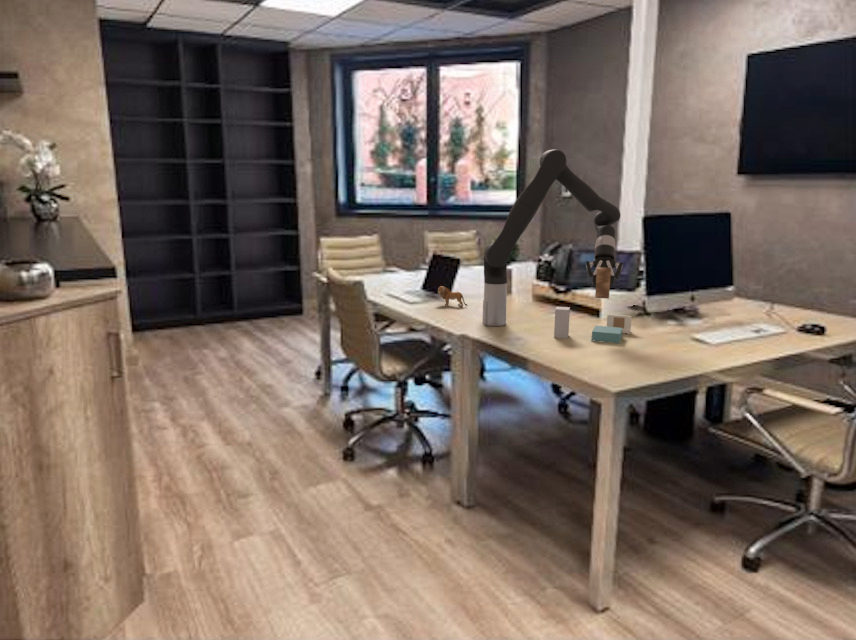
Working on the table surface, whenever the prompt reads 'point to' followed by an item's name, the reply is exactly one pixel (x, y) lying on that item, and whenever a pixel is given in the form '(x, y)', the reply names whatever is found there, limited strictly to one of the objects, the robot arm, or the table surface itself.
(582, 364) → the table surface
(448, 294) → the lion figurine
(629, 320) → the plaque
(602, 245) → the robot arm
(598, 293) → the walnut block
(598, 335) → the teal base block
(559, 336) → the grey block
